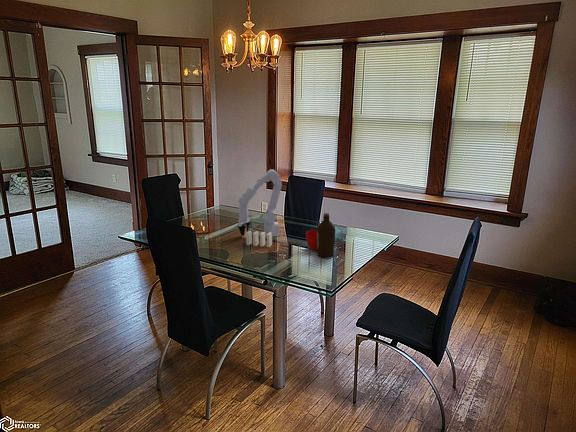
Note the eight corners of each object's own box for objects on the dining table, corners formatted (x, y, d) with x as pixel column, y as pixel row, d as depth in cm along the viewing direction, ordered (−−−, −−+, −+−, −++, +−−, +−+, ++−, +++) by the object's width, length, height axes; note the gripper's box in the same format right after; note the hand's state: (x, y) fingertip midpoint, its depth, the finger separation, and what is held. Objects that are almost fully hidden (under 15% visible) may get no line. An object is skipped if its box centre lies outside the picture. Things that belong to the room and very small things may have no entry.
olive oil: (335, 253, 239) (337, 212, 233) (333, 259, 230) (334, 216, 223) (318, 251, 242) (319, 210, 236) (314, 257, 232) (315, 215, 226)
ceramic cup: (321, 242, 258) (321, 227, 256) (329, 251, 242) (330, 235, 240) (301, 244, 256) (301, 229, 253) (308, 253, 240) (309, 237, 237)
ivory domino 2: (258, 243, 257) (258, 231, 255) (255, 246, 252) (255, 233, 250) (256, 243, 257) (255, 231, 255) (253, 245, 253) (253, 233, 251)
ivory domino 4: (272, 244, 254) (271, 232, 252) (269, 247, 250) (269, 234, 248) (269, 244, 255) (269, 232, 253) (266, 247, 250) (266, 234, 248)
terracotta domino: (247, 235, 272) (246, 224, 270) (244, 238, 268) (243, 226, 266) (244, 235, 273) (244, 224, 271) (241, 237, 268) (241, 226, 266)
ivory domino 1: (251, 242, 258) (251, 230, 256) (248, 245, 254) (248, 233, 252) (249, 242, 259) (249, 230, 257) (246, 245, 254) (246, 232, 252)
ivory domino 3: (265, 244, 256) (265, 232, 254) (262, 246, 251) (262, 234, 249) (262, 243, 256) (262, 231, 254) (260, 246, 252) (259, 234, 249)
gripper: (242, 211, 274) (243, 230, 278) (233, 216, 261) (234, 236, 264) (252, 211, 272) (252, 231, 276) (243, 217, 259) (244, 237, 262)
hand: (244, 234), depth 270 cm, fingers closed on terracotta domino, 5 cm apart
